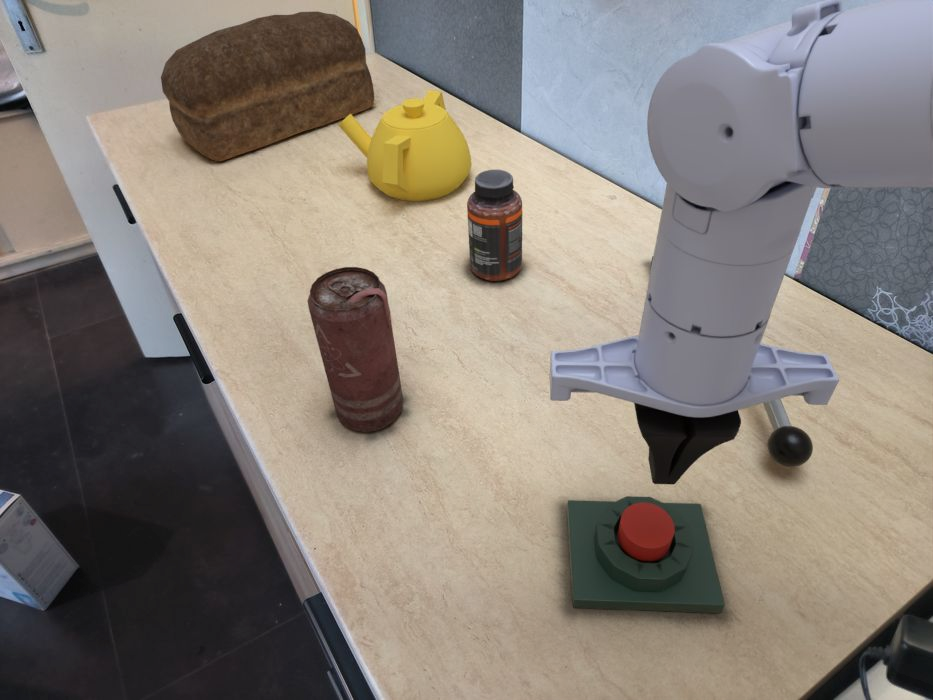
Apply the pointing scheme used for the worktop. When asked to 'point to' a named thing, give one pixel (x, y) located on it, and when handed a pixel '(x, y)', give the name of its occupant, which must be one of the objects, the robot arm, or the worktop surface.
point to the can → (357, 347)
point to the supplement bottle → (495, 226)
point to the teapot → (414, 149)
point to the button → (645, 531)
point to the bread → (266, 82)
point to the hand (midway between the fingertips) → (661, 471)
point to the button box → (641, 582)
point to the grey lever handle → (786, 438)
